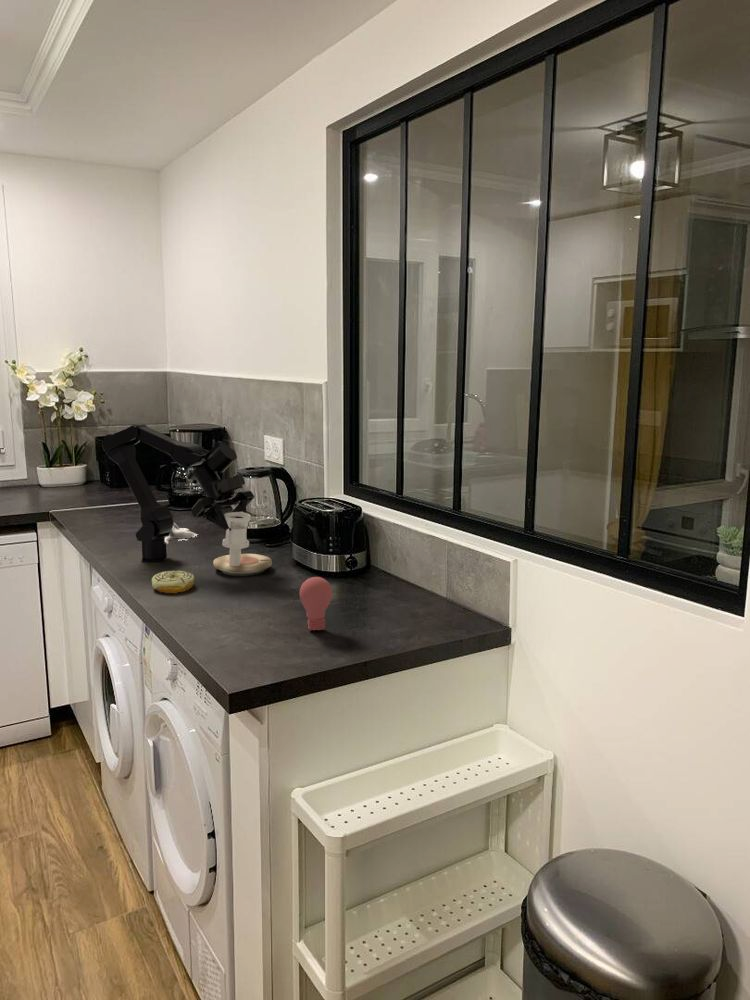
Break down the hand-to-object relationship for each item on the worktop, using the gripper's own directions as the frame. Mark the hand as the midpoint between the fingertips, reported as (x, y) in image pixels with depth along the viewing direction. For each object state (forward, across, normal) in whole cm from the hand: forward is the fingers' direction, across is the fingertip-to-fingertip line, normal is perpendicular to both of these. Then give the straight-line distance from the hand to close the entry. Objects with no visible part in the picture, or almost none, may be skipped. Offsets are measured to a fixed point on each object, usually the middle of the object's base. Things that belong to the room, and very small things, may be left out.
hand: (239, 528), depth 201 cm
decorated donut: (+6, -19, +13) cm, 24 cm away
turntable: (+6, +4, +10) cm, 13 cm away
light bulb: (+39, -19, -22) cm, 49 cm away
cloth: (-24, +18, +45) cm, 54 cm away
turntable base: (+7, +4, +11) cm, 14 cm away
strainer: (+6, 0, +8) cm, 10 cm away
